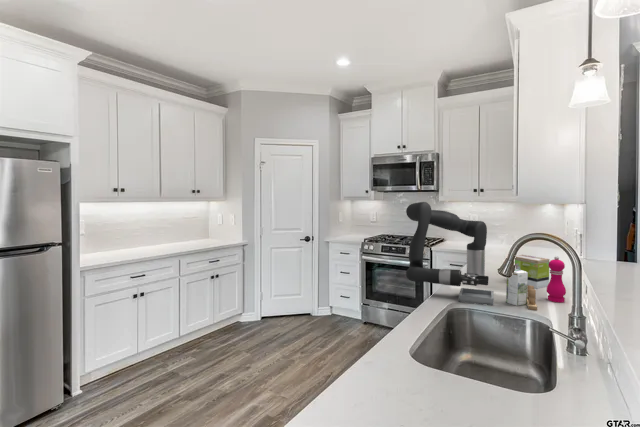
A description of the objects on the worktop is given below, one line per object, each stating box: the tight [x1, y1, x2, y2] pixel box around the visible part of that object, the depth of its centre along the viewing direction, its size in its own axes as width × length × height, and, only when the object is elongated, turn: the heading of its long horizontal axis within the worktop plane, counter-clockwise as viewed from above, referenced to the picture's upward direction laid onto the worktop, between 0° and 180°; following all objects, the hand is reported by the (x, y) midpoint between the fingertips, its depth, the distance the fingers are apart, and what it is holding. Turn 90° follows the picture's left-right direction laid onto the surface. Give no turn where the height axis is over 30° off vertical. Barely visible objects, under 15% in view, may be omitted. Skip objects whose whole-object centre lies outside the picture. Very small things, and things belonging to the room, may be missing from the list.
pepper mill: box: [546, 255, 567, 303], centre depth 156 cm, size 7×7×20 cm
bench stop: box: [526, 285, 538, 311], centre depth 150 cm, size 14×3×8 cm, turn 154°
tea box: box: [515, 254, 550, 290], centre depth 185 cm, size 15×10×15 cm, turn 25°
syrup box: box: [505, 270, 528, 307], centre depth 152 cm, size 6×6×14 cm
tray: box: [458, 287, 495, 306], centre depth 160 cm, size 14×14×3 cm
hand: (488, 280), depth 157 cm, fingers open, 8 cm apart
